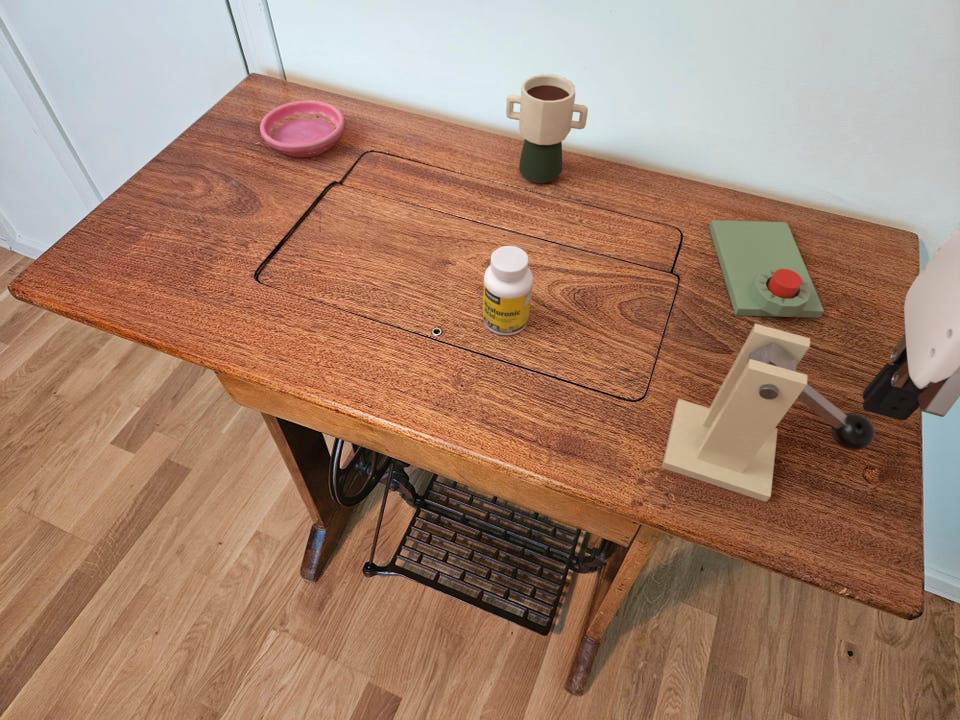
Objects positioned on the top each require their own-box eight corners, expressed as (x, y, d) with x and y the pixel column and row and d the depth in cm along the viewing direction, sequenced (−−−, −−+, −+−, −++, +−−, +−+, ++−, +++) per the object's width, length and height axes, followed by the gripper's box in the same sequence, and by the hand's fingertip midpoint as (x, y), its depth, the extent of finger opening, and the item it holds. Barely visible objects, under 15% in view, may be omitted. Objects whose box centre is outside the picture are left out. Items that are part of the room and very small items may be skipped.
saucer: (279, 173, 89) (273, 154, 87) (254, 130, 96) (249, 111, 94) (359, 149, 93) (356, 130, 91) (330, 110, 100) (327, 91, 97)
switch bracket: (773, 434, 63) (847, 334, 51) (766, 502, 59) (845, 410, 46) (675, 404, 65) (723, 301, 53) (661, 468, 61) (709, 371, 48)
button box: (822, 324, 72) (834, 307, 70) (737, 322, 73) (745, 304, 70) (783, 229, 83) (792, 211, 81) (708, 227, 83) (715, 209, 81)
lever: (848, 431, 56) (883, 421, 53) (847, 461, 54) (884, 451, 51) (745, 350, 53) (778, 334, 50) (741, 378, 51) (774, 363, 48)
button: (799, 299, 71) (805, 288, 70) (771, 298, 71) (777, 287, 70) (791, 279, 73) (797, 269, 72) (764, 279, 73) (770, 268, 72)
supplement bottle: (475, 329, 72) (475, 267, 64) (492, 297, 75) (494, 235, 67) (519, 343, 70) (525, 281, 63) (535, 310, 73) (542, 248, 66)
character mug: (580, 165, 91) (594, 79, 81) (572, 194, 87) (586, 107, 77) (509, 153, 93) (513, 68, 83) (497, 181, 89) (501, 95, 78)
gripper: (1166, 330, 30) (942, 504, 44) (1094, 165, 39) (927, 354, 53) (991, 290, 31) (830, 470, 46) (961, 140, 40) (834, 330, 54)
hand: (882, 407), depth 49 cm, fingers closed
